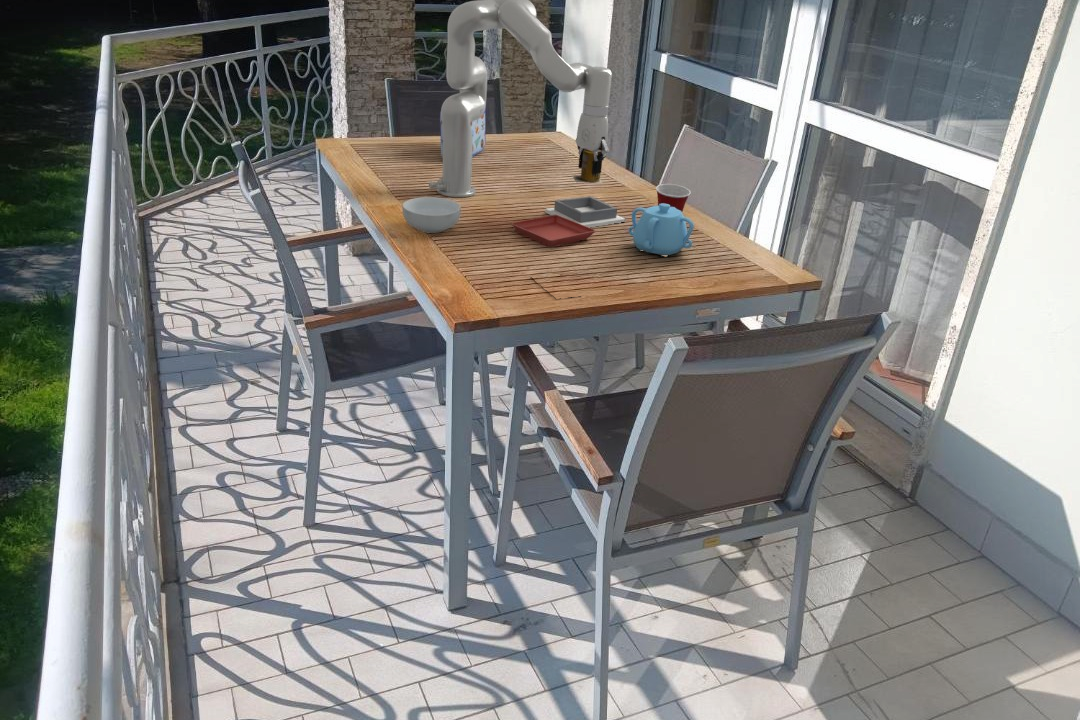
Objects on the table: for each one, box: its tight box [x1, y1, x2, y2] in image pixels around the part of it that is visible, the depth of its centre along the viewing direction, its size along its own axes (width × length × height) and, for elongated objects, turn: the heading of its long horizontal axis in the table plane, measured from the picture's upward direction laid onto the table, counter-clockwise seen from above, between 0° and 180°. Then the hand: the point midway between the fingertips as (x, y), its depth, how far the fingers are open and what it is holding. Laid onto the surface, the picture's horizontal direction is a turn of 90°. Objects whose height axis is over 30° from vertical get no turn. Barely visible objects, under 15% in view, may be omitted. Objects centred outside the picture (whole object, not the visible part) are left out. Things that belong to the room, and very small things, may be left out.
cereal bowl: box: [401, 196, 461, 234], centre depth 250 cm, size 17×17×7 cm
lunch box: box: [439, 106, 487, 159], centre depth 325 cm, size 28×10×22 cm, turn 162°
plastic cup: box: [655, 183, 692, 213], centre depth 268 cm, size 11×11×12 cm
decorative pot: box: [628, 203, 695, 256], centre depth 246 cm, size 16×16×14 cm
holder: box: [545, 195, 626, 228], centre depth 271 cm, size 18×18×4 cm
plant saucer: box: [511, 215, 596, 248], centre depth 253 cm, size 18×18×3 cm
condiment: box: [571, 148, 604, 184], centre depth 264 cm, size 7×8×12 cm
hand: (589, 170), depth 265 cm, fingers closed on condiment, 6 cm apart
